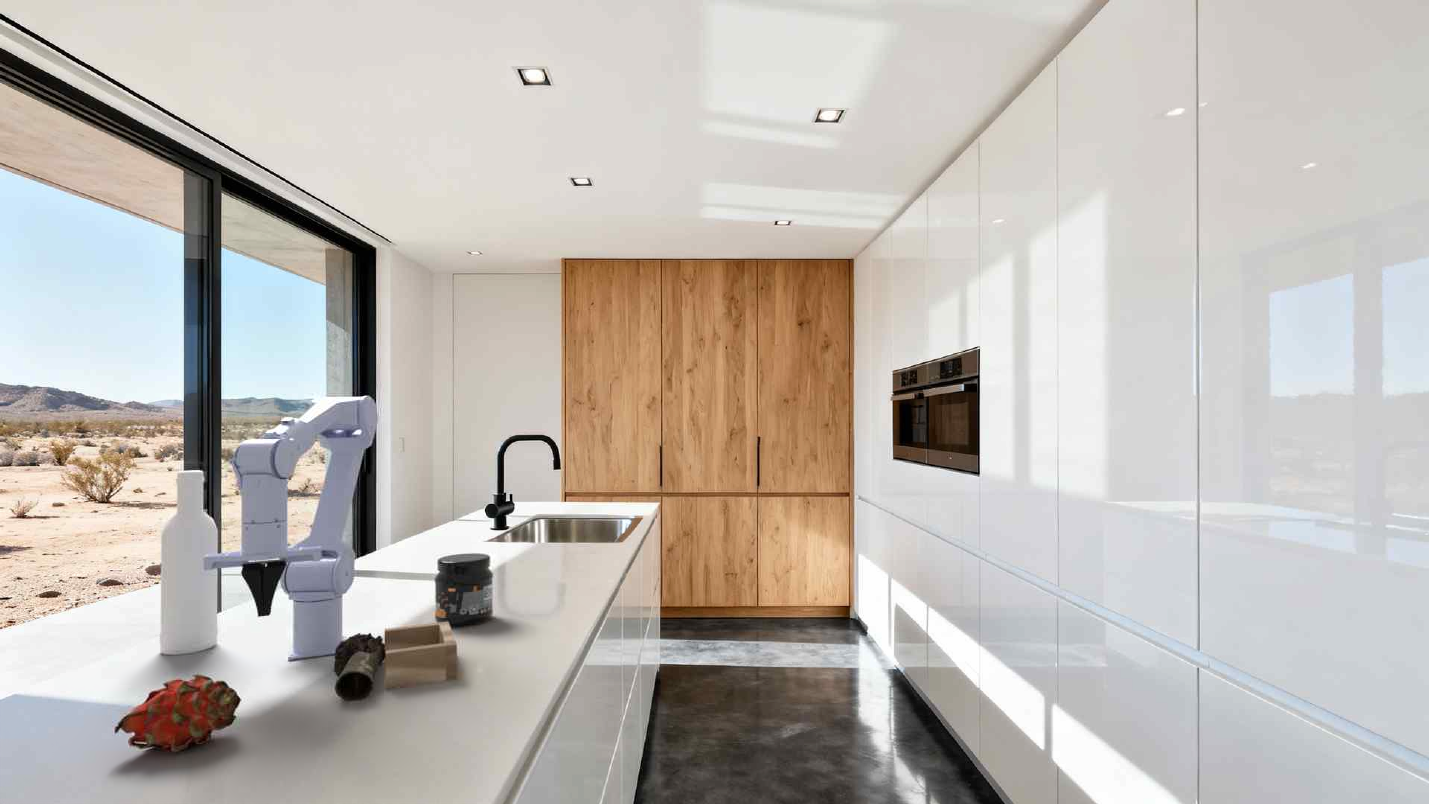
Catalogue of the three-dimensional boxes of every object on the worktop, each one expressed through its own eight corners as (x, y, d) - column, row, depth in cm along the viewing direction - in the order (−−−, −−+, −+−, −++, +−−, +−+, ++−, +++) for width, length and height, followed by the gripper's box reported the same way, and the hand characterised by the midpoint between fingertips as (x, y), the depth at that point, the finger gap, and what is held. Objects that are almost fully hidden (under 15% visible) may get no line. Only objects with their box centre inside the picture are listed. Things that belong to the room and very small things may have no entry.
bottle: (206, 638, 129) (207, 469, 130) (225, 645, 124) (226, 470, 125) (152, 650, 122) (153, 471, 123) (170, 658, 118) (171, 473, 119)
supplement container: (432, 617, 141) (432, 555, 141) (489, 611, 145) (488, 550, 146) (436, 631, 131) (436, 564, 132) (497, 624, 136) (496, 559, 136)
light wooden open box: (384, 660, 115) (384, 628, 115) (448, 652, 119) (448, 621, 119) (385, 689, 102) (385, 653, 103) (456, 678, 106) (456, 644, 107)
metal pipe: (374, 700, 99) (373, 659, 99) (319, 708, 97) (318, 665, 97) (389, 660, 116) (388, 624, 116) (342, 665, 114) (341, 629, 114)
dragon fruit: (249, 748, 88) (124, 789, 82) (245, 690, 94) (128, 724, 88) (237, 707, 83) (103, 747, 77) (233, 648, 89) (109, 681, 83)
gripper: (199, 528, 100) (198, 628, 99) (319, 520, 106) (318, 614, 105) (209, 522, 106) (209, 615, 106) (322, 515, 112) (322, 604, 112)
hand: (264, 614), depth 106 cm, fingers closed
